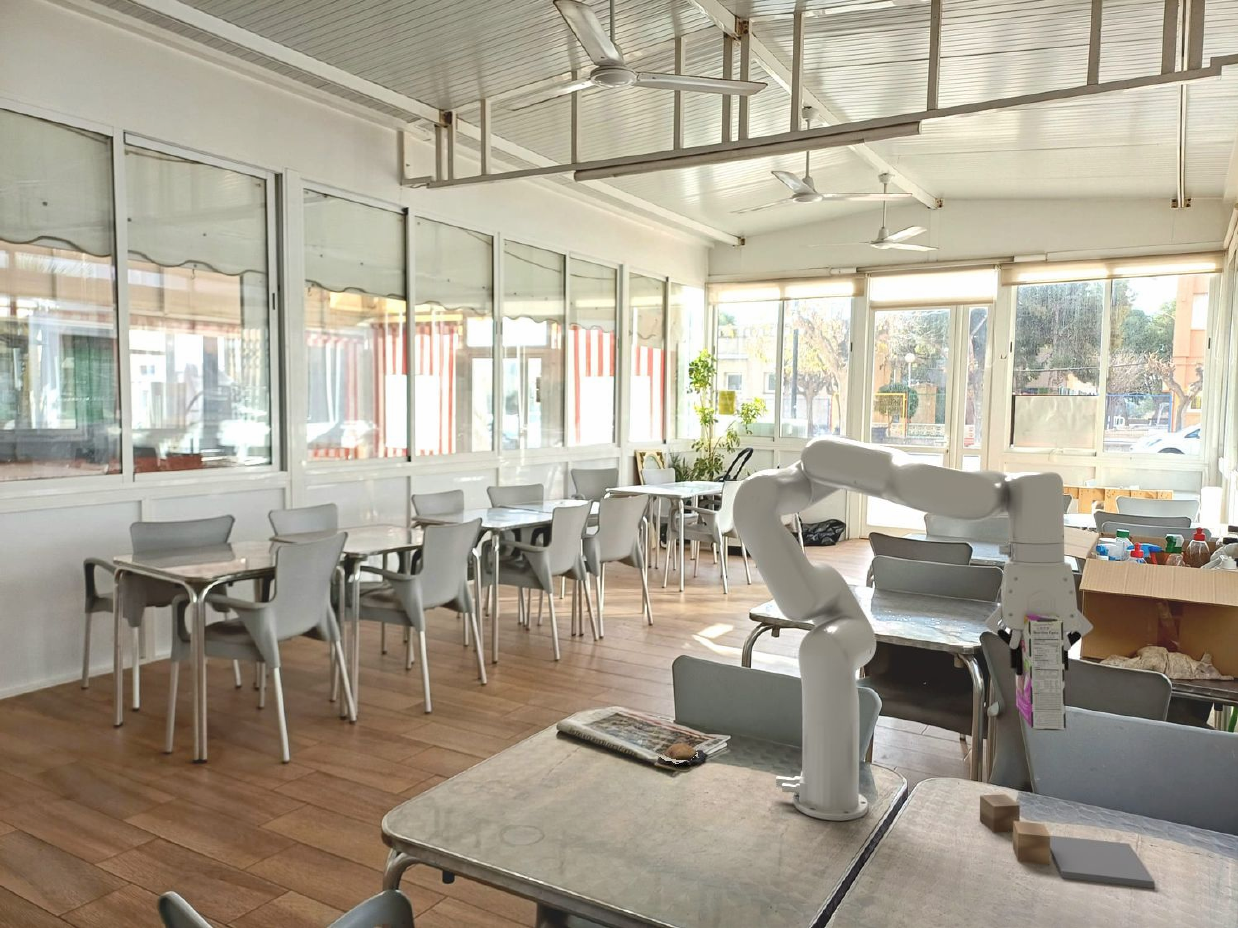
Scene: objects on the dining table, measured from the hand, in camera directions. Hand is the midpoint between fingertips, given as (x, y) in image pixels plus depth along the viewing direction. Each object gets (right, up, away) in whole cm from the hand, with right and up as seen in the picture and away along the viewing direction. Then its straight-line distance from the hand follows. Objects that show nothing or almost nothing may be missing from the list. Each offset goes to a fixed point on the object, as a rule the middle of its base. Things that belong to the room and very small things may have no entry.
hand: (1038, 672), depth 134 cm
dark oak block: (-1, -28, +12) cm, 30 cm away
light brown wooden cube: (-1, -28, +1) cm, 28 cm away
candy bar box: (0, -7, 0) cm, 7 cm away
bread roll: (-51, -28, +41) cm, 71 cm away
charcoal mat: (+8, -28, -1) cm, 29 cm away
